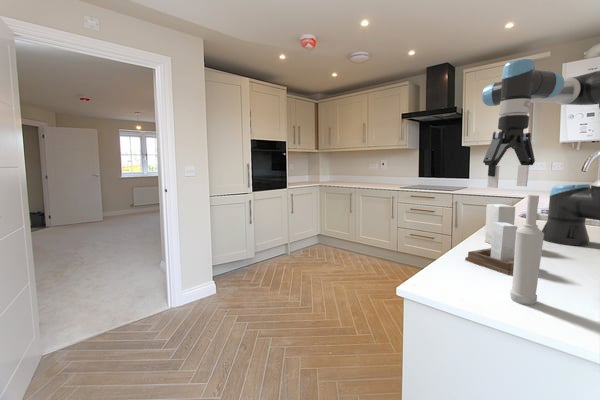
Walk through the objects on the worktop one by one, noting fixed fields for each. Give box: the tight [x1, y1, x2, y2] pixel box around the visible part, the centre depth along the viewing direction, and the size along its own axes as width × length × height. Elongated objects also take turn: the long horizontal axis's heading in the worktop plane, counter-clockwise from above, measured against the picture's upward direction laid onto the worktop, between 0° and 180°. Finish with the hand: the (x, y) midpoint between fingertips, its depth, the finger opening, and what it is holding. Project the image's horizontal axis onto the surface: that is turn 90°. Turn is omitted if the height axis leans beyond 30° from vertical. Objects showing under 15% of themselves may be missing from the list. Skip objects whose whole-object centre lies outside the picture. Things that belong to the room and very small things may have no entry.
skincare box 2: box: [490, 222, 518, 262], centre depth 97 cm, size 6×4×12 cm
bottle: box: [509, 194, 544, 306], centre depth 72 cm, size 5×5×25 cm
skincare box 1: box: [484, 203, 516, 245], centre depth 120 cm, size 8×7×16 cm
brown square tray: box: [464, 247, 514, 276], centre depth 98 cm, size 14×14×3 cm
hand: (507, 186), depth 95 cm, fingers open, 13 cm apart
